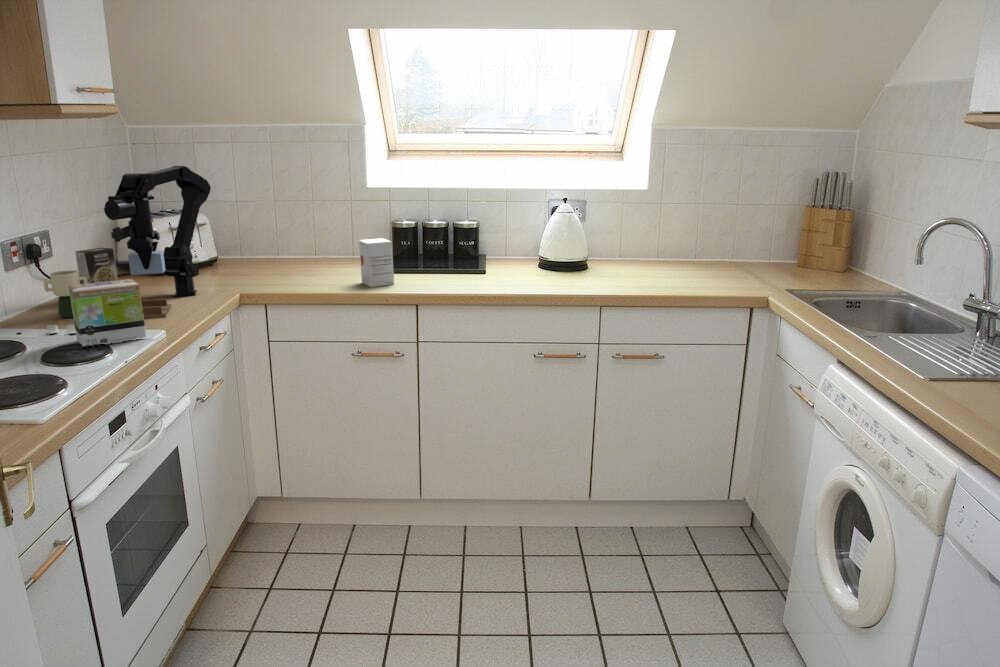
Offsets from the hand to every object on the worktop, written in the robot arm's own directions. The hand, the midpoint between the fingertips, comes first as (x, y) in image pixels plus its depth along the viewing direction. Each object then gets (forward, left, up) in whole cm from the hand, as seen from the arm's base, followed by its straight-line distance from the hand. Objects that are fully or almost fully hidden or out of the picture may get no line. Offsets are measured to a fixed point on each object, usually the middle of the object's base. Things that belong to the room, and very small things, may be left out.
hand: (147, 267), depth 227 cm
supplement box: (-8, +70, -12) cm, 71 cm away
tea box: (+39, -4, -12) cm, 41 cm away
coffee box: (-13, -17, -12) cm, 24 cm away
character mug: (+9, -21, -12) cm, 25 cm away
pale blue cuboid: (0, 0, -2) cm, 2 cm away
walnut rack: (+12, -1, -12) cm, 17 cm away
